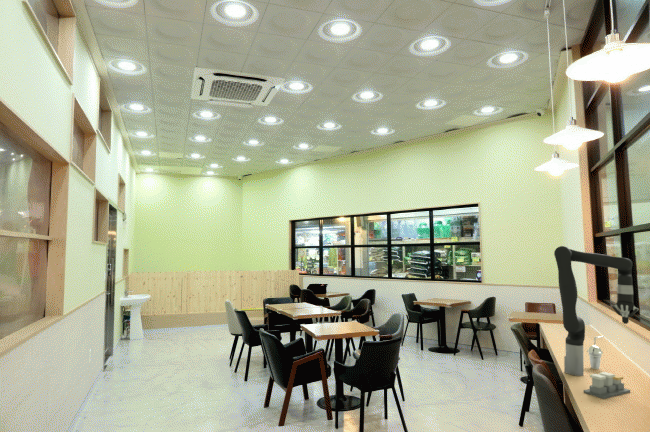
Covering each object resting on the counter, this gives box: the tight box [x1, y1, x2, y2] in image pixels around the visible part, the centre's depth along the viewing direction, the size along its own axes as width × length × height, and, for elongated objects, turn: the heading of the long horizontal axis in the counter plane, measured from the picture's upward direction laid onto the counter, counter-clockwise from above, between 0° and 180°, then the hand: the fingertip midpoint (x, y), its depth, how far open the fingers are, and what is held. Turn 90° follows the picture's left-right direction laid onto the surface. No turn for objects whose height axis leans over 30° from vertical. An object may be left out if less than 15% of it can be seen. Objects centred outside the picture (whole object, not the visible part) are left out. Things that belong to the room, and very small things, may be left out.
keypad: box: [583, 382, 631, 400], centre depth 225 cm, size 24×10×4 cm, turn 118°
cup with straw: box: [586, 335, 605, 370], centre depth 271 cm, size 8×9×20 cm
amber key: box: [613, 374, 624, 384], centre depth 229 cm, size 5×5×6 cm
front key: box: [589, 373, 606, 388], centre depth 222 cm, size 5×5×6 cm
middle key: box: [598, 371, 616, 386], centre depth 225 cm, size 5×5×6 cm
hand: (625, 323), depth 248 cm, fingers closed
